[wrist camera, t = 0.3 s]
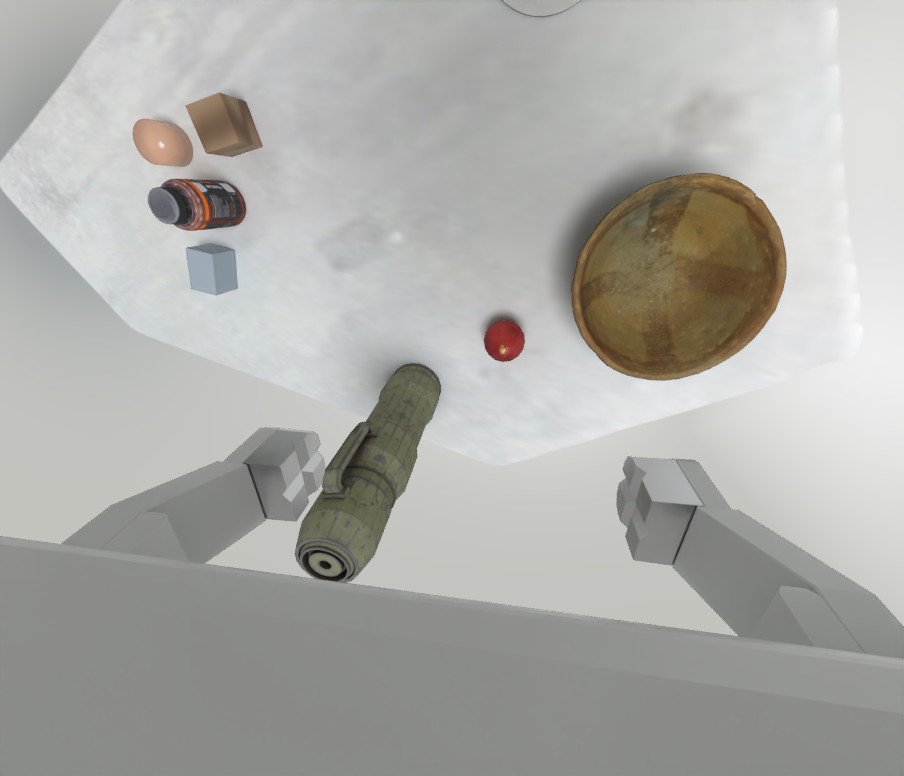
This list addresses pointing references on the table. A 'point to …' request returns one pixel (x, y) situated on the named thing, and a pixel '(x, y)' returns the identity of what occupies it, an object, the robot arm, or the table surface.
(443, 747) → the robot arm
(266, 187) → the table surface
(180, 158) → the peach rounded cylinder
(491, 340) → the onion
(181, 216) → the supplement bottle
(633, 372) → the bowl
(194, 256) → the slate block
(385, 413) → the thermos
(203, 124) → the walnut cube
